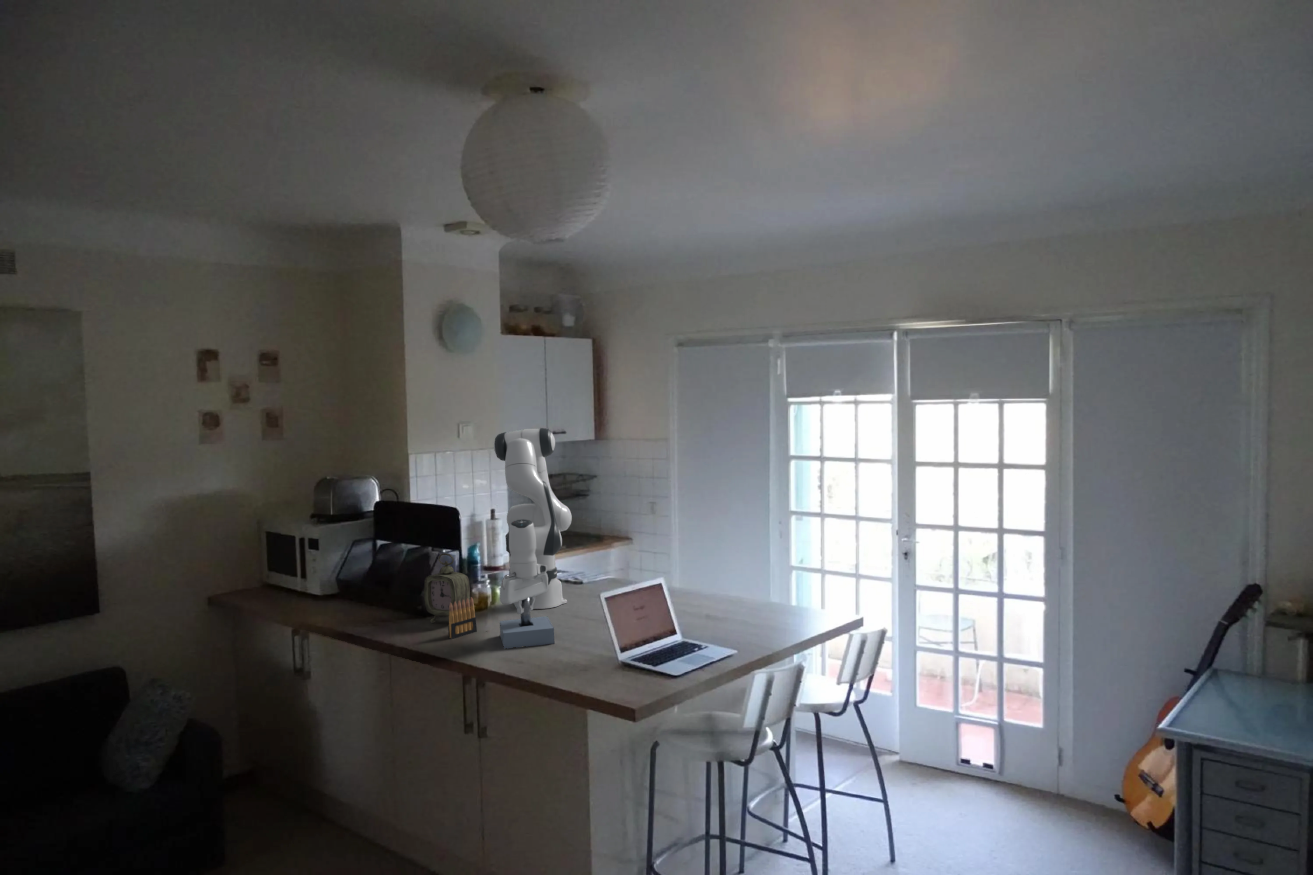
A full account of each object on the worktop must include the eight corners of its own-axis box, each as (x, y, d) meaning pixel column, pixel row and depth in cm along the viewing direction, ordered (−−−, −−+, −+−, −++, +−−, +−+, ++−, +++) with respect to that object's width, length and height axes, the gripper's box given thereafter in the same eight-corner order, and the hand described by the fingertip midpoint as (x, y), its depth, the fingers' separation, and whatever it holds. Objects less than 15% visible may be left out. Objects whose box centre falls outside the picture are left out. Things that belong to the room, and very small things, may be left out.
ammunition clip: (451, 639, 282) (450, 603, 282) (448, 638, 284) (446, 602, 283) (477, 631, 291) (475, 596, 290) (473, 630, 292) (472, 596, 291)
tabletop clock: (425, 623, 304) (422, 554, 303) (442, 617, 312) (439, 549, 311) (456, 627, 297) (453, 556, 296) (473, 621, 305) (470, 552, 304)
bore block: (500, 635, 284) (499, 620, 284) (547, 630, 288) (547, 616, 288) (504, 648, 269) (503, 633, 269) (554, 643, 273) (553, 627, 273)
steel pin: (519, 627, 279) (518, 597, 278) (528, 625, 281) (527, 595, 280) (523, 629, 276) (522, 598, 276) (532, 627, 278) (531, 597, 278)
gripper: (509, 576, 267) (511, 620, 268) (550, 565, 285) (552, 606, 285) (494, 575, 271) (496, 618, 271) (536, 563, 288) (537, 604, 288)
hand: (525, 611), depth 278 cm, fingers closed on steel pin, 3 cm apart
